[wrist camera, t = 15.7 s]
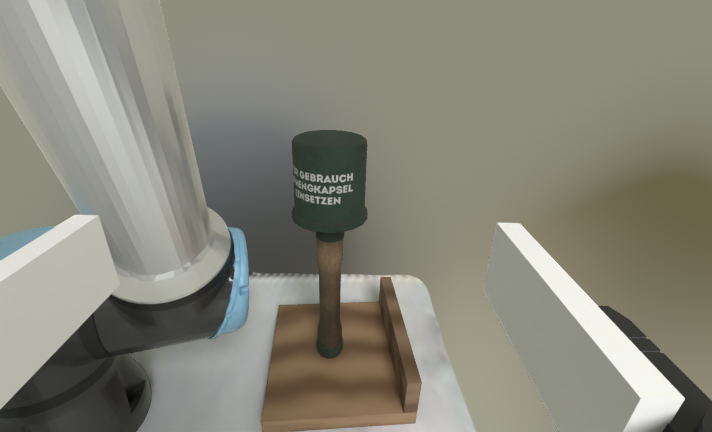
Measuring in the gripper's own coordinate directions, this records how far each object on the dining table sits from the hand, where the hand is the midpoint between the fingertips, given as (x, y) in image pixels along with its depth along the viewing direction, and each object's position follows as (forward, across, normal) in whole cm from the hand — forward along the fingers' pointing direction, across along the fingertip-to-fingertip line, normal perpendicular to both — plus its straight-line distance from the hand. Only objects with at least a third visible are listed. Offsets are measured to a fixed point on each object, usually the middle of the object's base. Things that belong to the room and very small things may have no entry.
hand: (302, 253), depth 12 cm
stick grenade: (+27, -1, -32) cm, 42 cm away
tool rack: (+27, 0, -34) cm, 44 cm away
